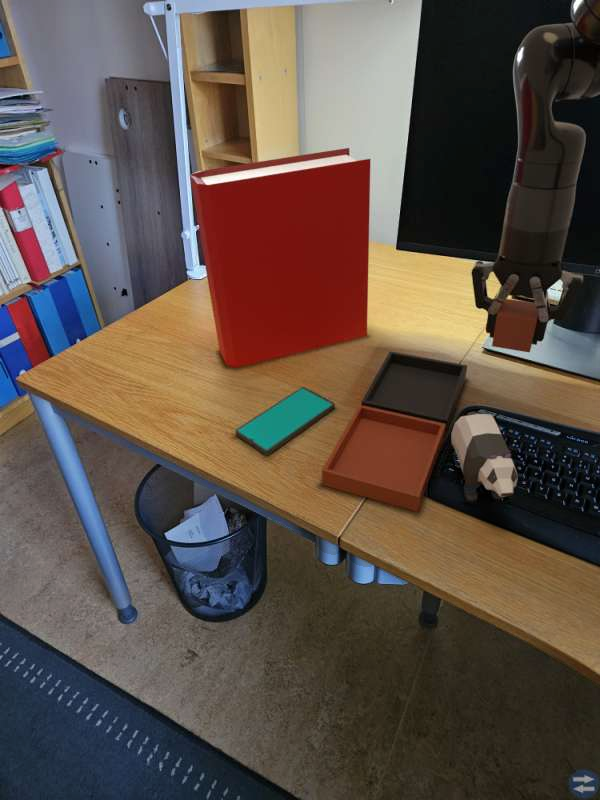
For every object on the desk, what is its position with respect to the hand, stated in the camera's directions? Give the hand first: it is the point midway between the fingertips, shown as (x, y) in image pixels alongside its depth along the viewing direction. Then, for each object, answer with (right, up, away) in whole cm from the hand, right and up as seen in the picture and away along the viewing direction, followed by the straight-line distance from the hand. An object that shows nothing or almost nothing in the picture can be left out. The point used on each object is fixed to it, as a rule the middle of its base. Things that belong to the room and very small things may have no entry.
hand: (513, 337), depth 78 cm
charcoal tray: (-11, -8, +12) cm, 19 cm away
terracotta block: (0, 0, 0) cm, 0 cm away
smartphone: (-32, -12, +9) cm, 36 cm away
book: (-31, +2, +28) cm, 42 cm away
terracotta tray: (-18, -17, +1) cm, 25 cm away
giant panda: (-6, -20, -4) cm, 21 cm away
